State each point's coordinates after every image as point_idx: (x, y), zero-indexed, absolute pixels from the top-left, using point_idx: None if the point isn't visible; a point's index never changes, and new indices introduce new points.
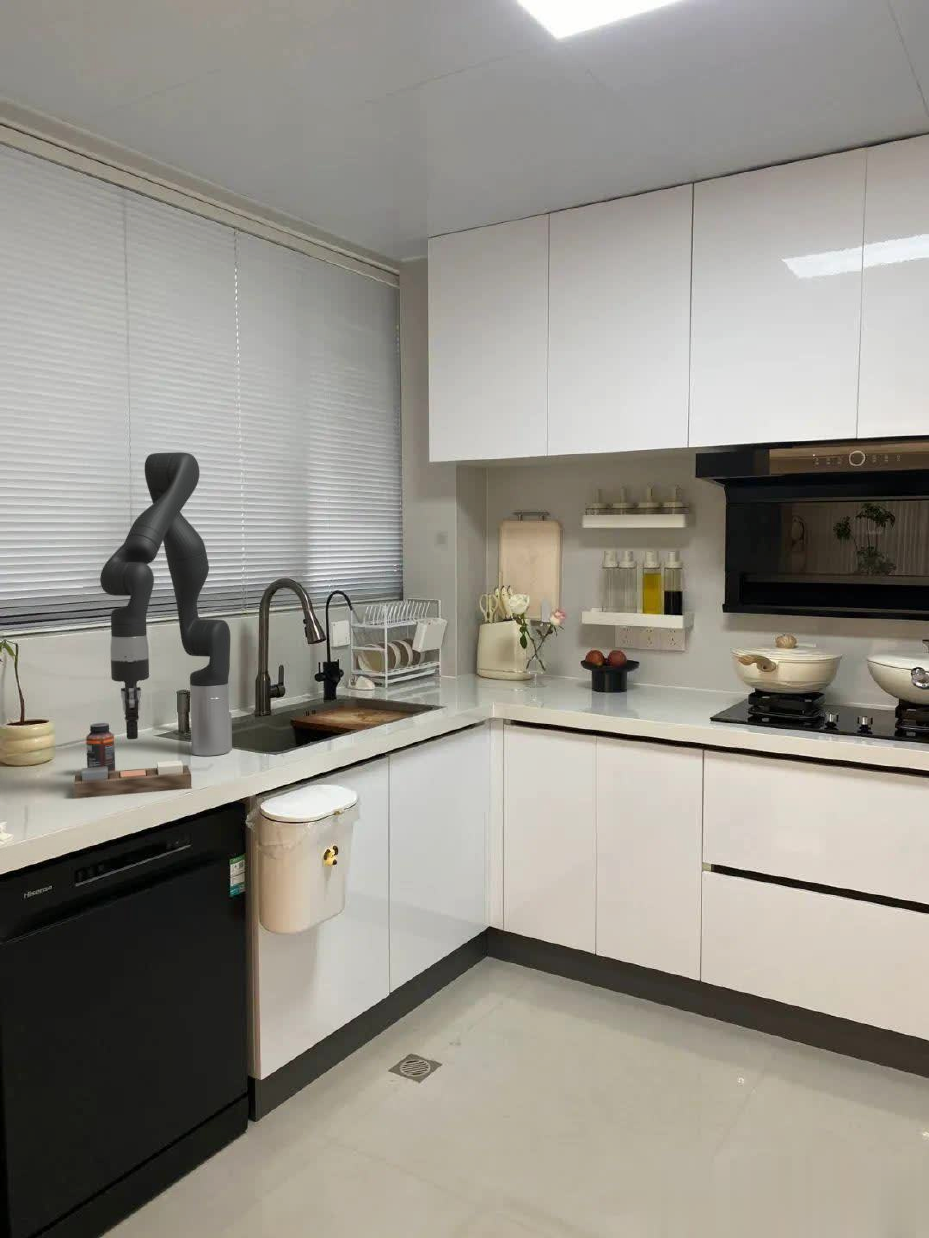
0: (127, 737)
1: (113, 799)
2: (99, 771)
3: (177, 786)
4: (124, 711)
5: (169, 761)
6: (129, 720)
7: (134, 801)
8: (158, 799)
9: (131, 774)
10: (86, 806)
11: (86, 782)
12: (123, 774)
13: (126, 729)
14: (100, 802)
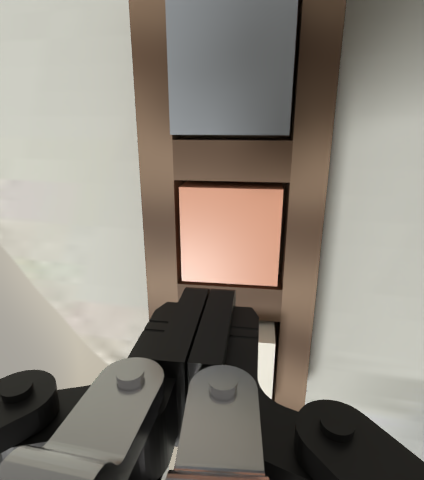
0: (185, 291)
1: (95, 147)
2: (179, 93)
3: None
4: (28, 447)
5: (269, 385)
6: (61, 397)
7: (53, 212)
8: (61, 279)
9: (205, 230)
10: (22, 52)
11: (139, 34)
12: (217, 199)
13: (219, 317)
14: (65, 102)
